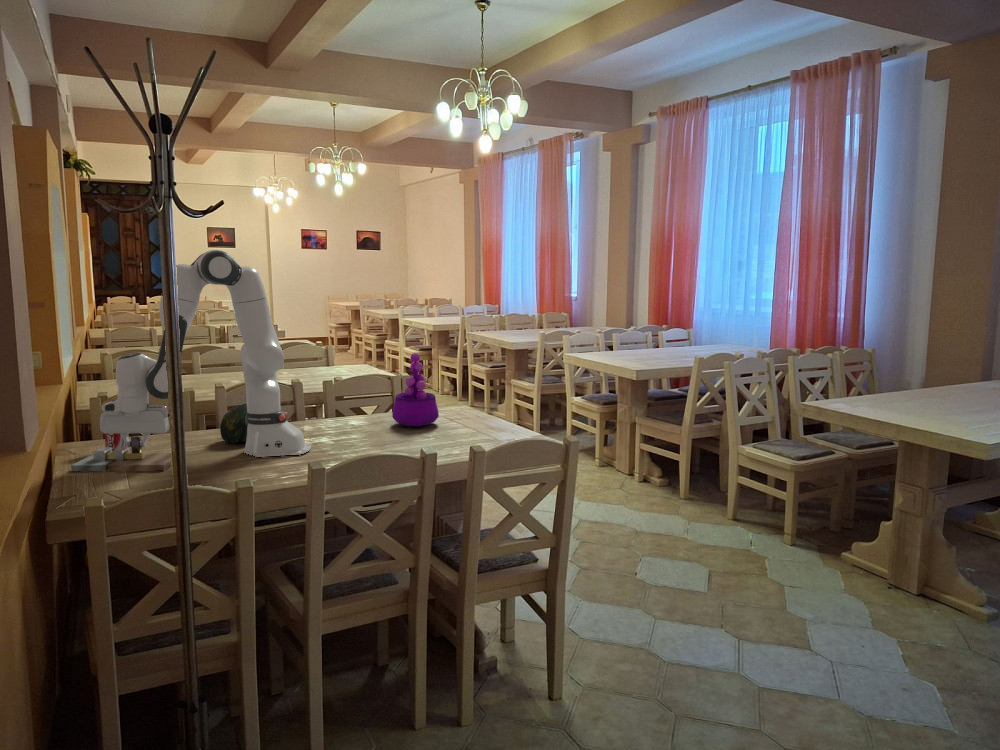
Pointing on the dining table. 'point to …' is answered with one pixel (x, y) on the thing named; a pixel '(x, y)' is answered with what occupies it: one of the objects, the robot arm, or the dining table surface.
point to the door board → (125, 463)
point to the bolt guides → (101, 452)
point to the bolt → (133, 454)
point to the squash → (234, 425)
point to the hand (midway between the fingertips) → (136, 446)
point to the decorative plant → (415, 400)
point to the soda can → (114, 441)
